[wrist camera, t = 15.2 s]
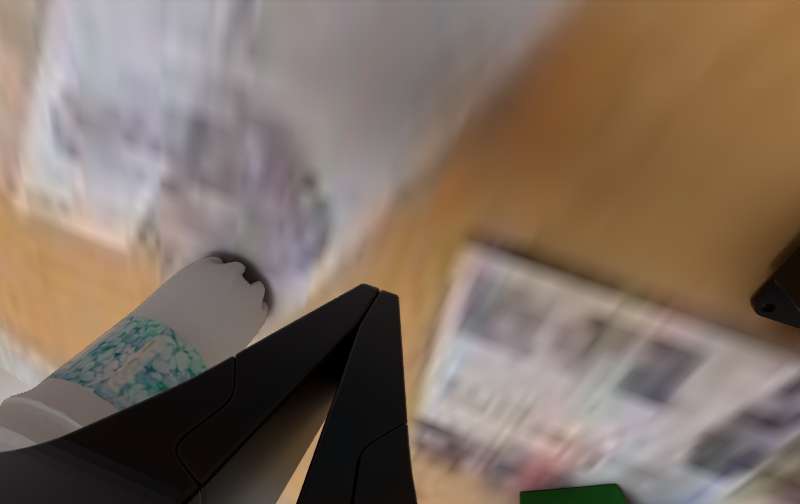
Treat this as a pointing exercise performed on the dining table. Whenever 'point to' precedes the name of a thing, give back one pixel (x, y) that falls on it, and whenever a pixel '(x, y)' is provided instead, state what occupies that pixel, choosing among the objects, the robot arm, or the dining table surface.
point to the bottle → (142, 353)
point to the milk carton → (576, 496)
